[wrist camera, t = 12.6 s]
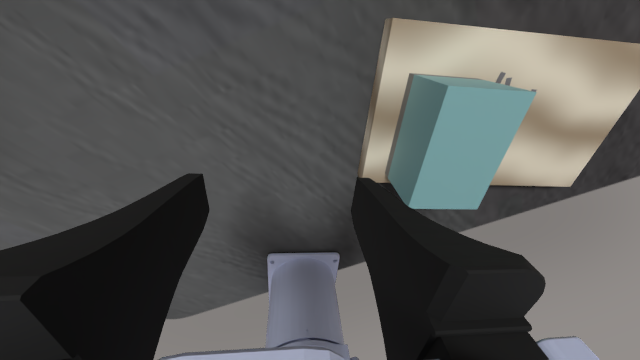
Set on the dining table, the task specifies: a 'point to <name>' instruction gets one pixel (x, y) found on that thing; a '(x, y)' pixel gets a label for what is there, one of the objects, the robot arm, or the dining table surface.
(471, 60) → the birch board
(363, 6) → the dining table surface
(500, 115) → the block
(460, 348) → the robot arm
